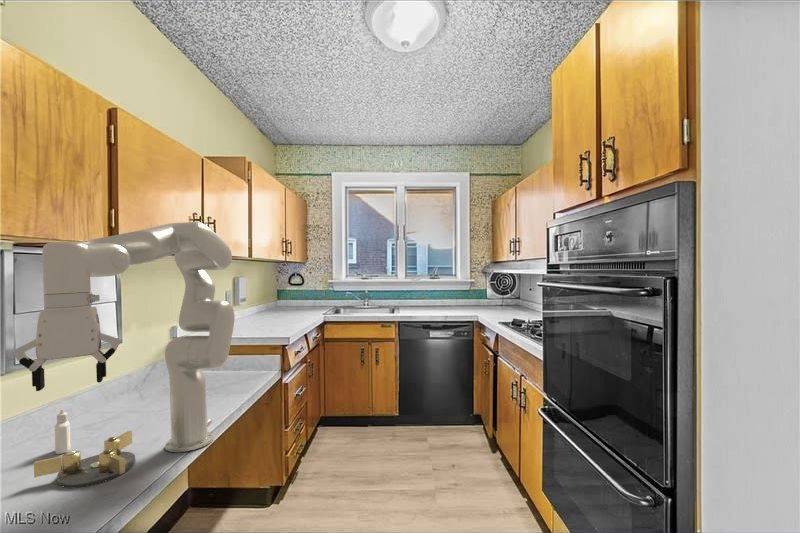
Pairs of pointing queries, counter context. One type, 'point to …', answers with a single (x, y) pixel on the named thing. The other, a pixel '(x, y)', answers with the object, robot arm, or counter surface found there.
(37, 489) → the counter surface
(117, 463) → the knob
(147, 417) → the counter surface
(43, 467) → the knob
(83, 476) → the base
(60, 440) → the eye dropper bottle
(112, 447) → the knob
